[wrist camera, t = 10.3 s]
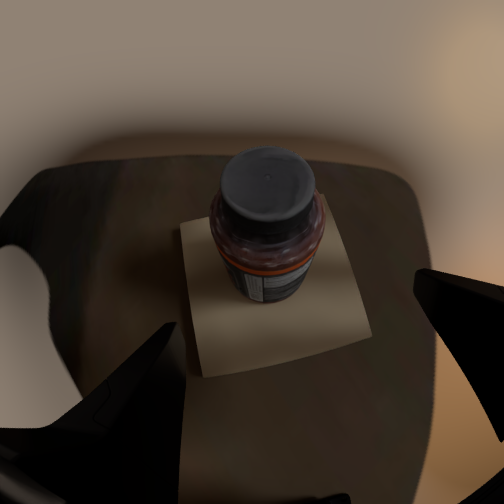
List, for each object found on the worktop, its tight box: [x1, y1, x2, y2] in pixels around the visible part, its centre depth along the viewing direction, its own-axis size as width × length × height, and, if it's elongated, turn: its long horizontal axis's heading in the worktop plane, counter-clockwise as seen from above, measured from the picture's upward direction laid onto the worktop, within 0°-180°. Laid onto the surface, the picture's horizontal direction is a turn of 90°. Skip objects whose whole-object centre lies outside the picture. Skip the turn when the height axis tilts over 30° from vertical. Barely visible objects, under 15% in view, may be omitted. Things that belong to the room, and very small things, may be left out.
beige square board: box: [180, 194, 372, 378], centre depth 22 cm, size 13×13×1 cm
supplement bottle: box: [209, 146, 326, 304], centre depth 16 cm, size 6×6×11 cm
